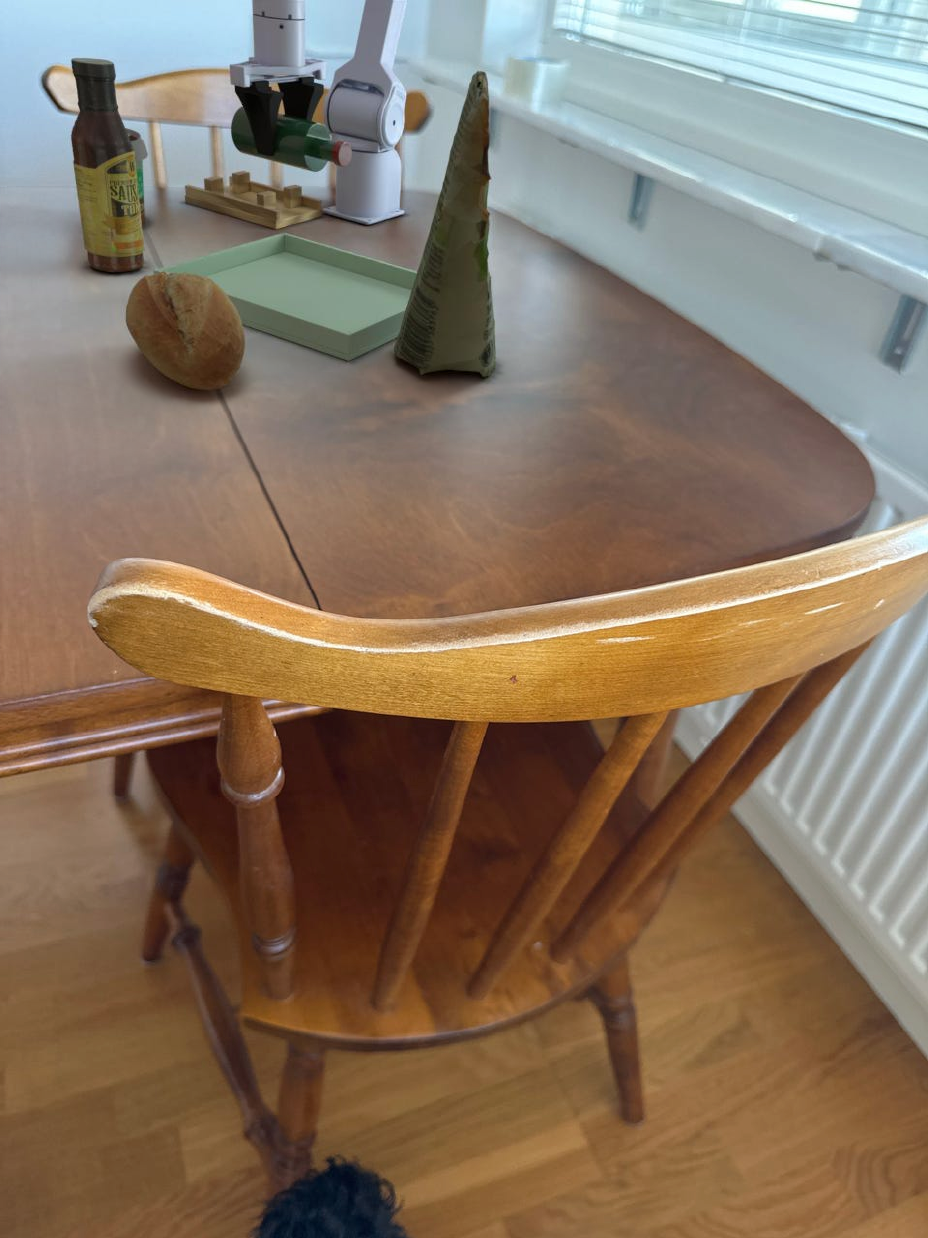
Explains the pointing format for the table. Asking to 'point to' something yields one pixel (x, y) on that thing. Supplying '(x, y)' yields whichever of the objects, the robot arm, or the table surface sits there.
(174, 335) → the bread roll
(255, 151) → the bottle
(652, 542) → the table surface
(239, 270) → the tray
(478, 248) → the olive green tall cone
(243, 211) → the rack
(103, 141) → the sauce bottle
